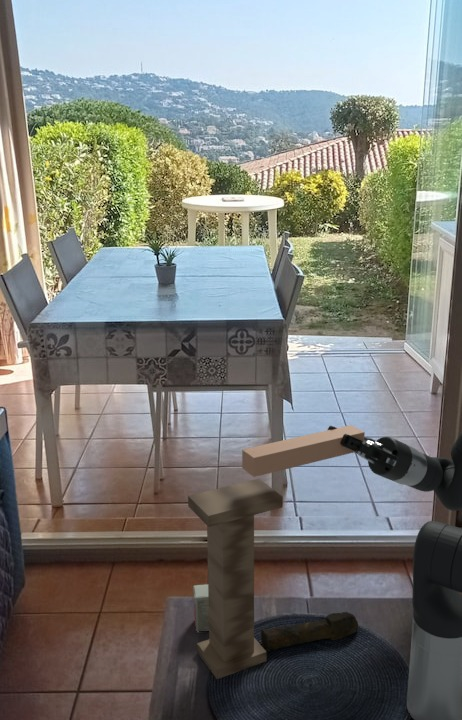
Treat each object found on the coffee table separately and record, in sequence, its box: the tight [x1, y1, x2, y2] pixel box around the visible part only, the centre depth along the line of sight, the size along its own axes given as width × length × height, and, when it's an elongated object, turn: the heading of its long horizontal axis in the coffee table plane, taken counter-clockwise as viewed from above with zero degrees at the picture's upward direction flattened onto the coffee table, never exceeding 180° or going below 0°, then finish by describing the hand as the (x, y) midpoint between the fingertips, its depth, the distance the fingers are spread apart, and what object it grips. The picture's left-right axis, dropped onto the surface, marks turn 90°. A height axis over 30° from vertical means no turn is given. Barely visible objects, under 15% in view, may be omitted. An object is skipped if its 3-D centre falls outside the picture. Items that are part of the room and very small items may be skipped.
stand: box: [187, 478, 284, 680], centre depth 129 cm, size 14×8×32 cm, turn 118°
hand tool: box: [260, 611, 359, 653], centre depth 137 cm, size 19×4×5 cm, turn 103°
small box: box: [193, 583, 209, 632], centre depth 141 cm, size 5×4×8 cm
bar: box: [241, 424, 366, 478], centre depth 129 cm, size 23×4×4 cm, turn 118°
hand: (336, 435), depth 132 cm, fingers closed on bar, 4 cm apart
